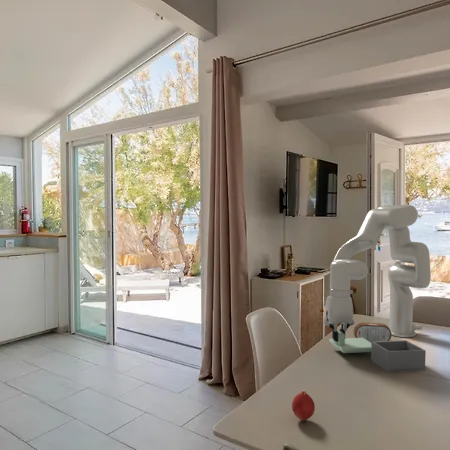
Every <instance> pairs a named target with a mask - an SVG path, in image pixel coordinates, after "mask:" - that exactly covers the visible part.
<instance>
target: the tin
mask: <svg viewBox="0 0 450 450" xmlns="http://www.w3.org/2000/svg"><path fill="white" fill-rule="evenodd" d="M353 335H354V338H364V339H366V340H367V341H369V342H370V343H371V342H375V341H391V339H392V335H391V331H390V329H389V325H387V324H385V323H380V322H379V323H378V322H360V323H358V324H356V325H355V327H354V328H353Z"/></svg>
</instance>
